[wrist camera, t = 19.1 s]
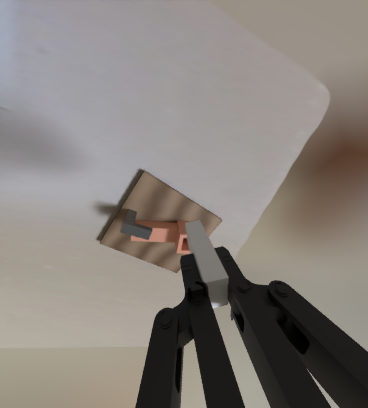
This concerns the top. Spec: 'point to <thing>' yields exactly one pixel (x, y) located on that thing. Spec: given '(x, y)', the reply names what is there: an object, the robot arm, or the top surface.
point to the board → (160, 212)
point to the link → (167, 234)
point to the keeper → (135, 226)
